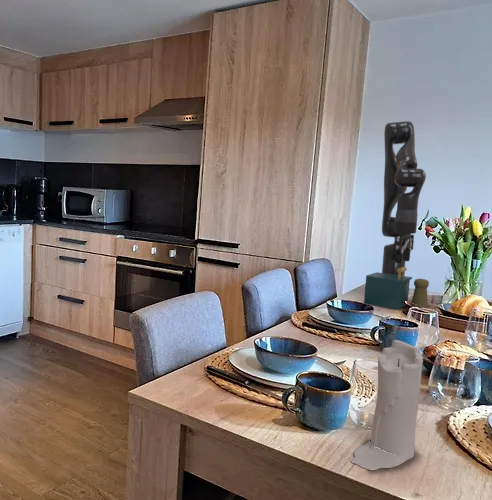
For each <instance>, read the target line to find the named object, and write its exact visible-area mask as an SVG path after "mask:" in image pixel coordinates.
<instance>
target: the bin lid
mask: <svg viewBox="0 0 492 500" xmlns="http://www.w3.org/2000/svg"><path fill="white" fill-rule="evenodd" d="M397 272H398V275H393V274H385V273H382V272H373V273H370V274H367V275H366V276H365V278H366V277H367V278H373V279H380V280H387V281H394V282H401V283H403V282H406V281H408V280H410V281H411V280H413V277H412V276H407V275H406V272H407V267H406V266H405V267H401V268H398V269H397ZM401 272H402V276H401Z"/></svg>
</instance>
